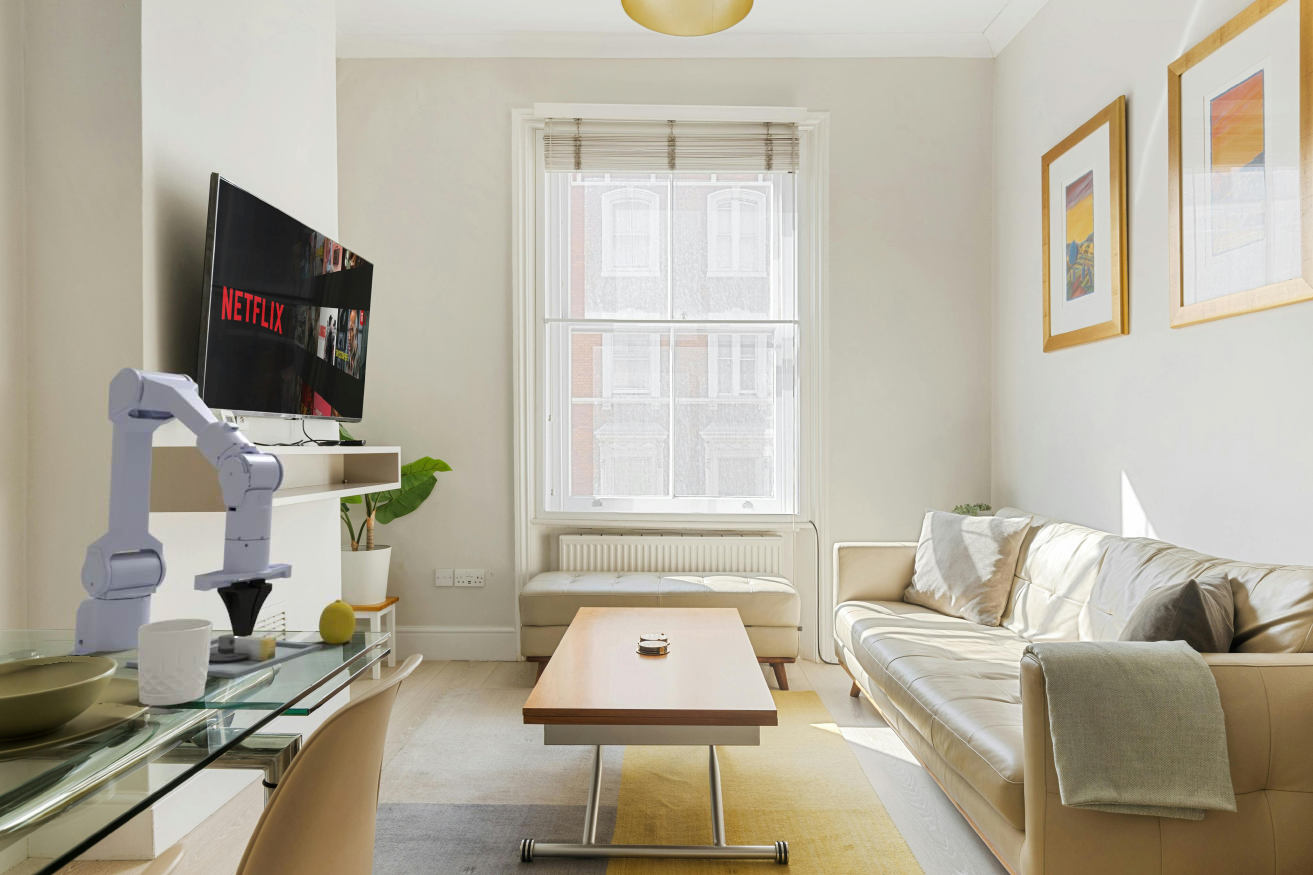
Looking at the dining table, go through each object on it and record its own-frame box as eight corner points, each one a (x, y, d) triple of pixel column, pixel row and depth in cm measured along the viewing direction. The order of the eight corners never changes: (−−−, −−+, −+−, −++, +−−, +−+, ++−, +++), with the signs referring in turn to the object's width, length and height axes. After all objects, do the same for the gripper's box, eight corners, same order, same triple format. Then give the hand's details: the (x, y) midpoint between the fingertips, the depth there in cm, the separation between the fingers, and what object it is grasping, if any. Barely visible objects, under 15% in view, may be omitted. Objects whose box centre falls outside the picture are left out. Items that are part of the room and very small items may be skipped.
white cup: (140, 700, 98) (144, 620, 98) (212, 694, 101) (216, 617, 102) (127, 719, 91) (132, 633, 91) (204, 712, 94) (209, 629, 94)
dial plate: (125, 674, 109) (126, 661, 109) (225, 646, 126) (225, 635, 126) (234, 687, 104) (235, 673, 105) (321, 656, 122) (322, 644, 122)
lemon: (360, 645, 130) (362, 597, 130) (343, 653, 124) (346, 603, 124) (328, 643, 130) (331, 595, 130) (311, 651, 125) (313, 601, 125)
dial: (185, 660, 112) (186, 639, 112) (226, 647, 120) (227, 628, 120) (251, 666, 110) (252, 645, 110) (289, 653, 118) (290, 633, 118)
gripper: (224, 544, 101) (218, 649, 101) (309, 536, 115) (304, 628, 115) (185, 540, 104) (179, 643, 103) (272, 533, 118) (268, 623, 117)
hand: (242, 635), depth 109 cm, fingers closed
